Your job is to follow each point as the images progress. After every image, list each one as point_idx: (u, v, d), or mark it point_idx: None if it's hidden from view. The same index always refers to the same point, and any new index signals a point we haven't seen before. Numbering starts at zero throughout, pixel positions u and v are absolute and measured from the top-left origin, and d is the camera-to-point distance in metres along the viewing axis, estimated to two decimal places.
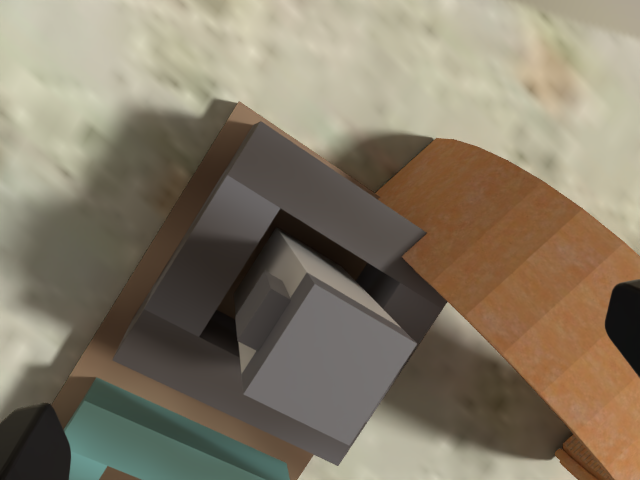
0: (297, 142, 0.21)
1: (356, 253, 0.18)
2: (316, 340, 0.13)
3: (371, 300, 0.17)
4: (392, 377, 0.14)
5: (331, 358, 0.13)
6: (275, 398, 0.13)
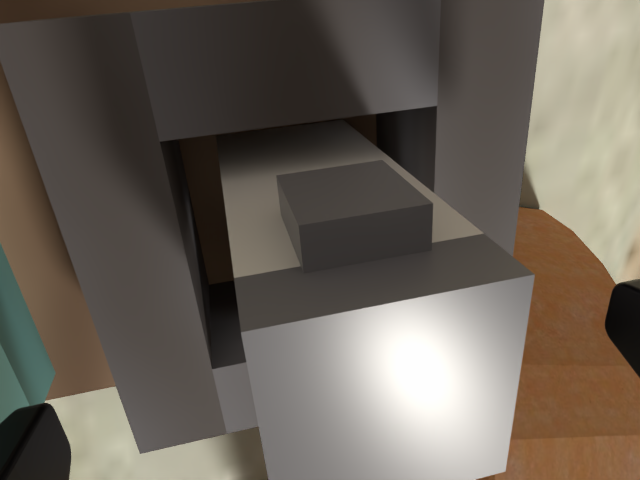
0: None
1: None
2: (431, 356, 0.06)
3: None
4: None
5: (412, 399, 0.06)
6: (276, 384, 0.06)
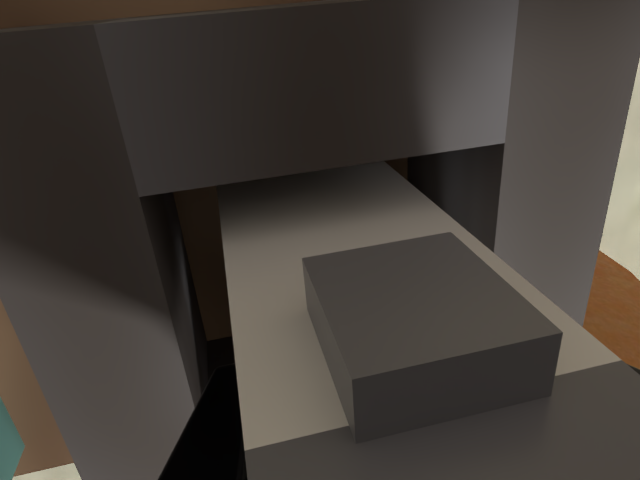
0: None
1: None
2: None
3: None
4: None
5: None
6: None
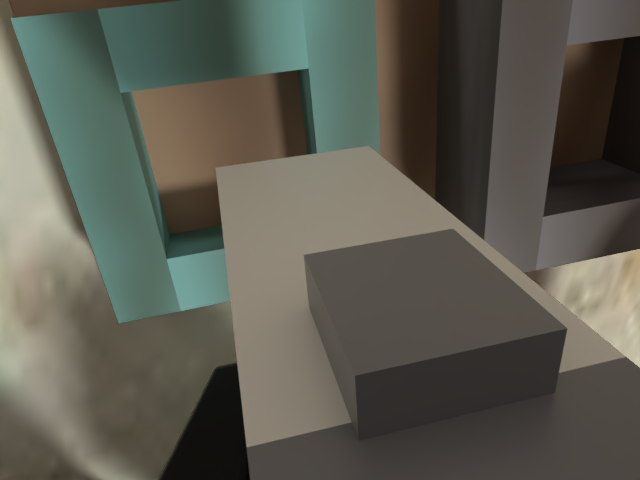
0: None
1: None
2: None
3: None
4: None
5: None
6: None
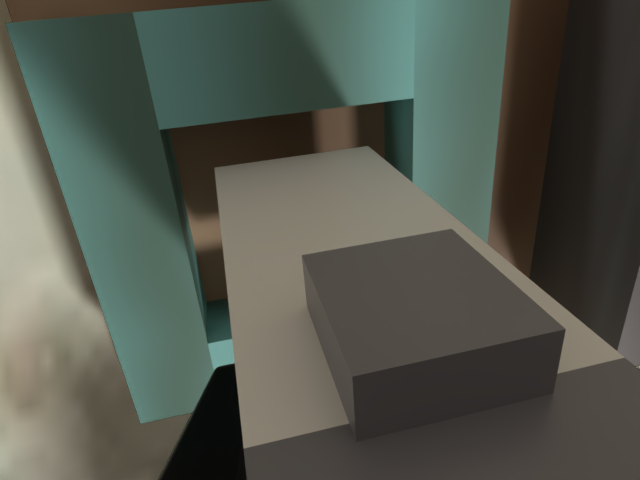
0: None
1: None
2: None
3: None
4: None
5: None
6: None
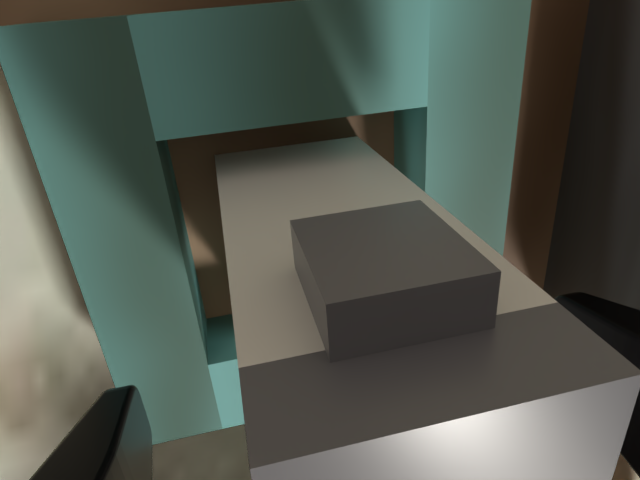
0: None
1: None
2: (501, 477, 0.05)
3: None
4: None
5: None
6: None
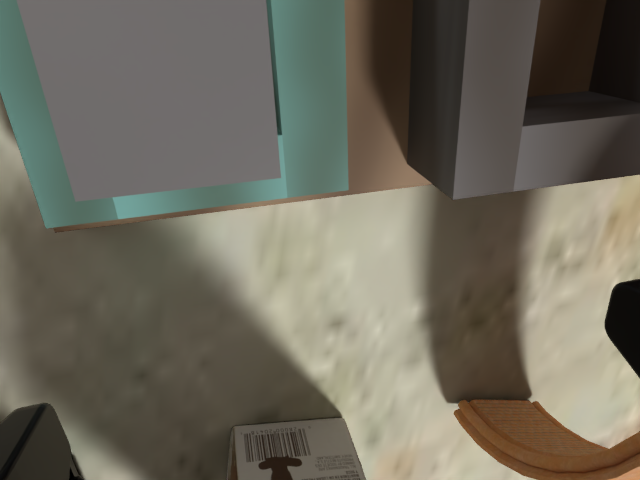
0: None
1: None
2: (183, 25, 0.08)
3: None
4: (214, 181, 0.09)
5: (175, 71, 0.08)
6: (46, 27, 0.07)
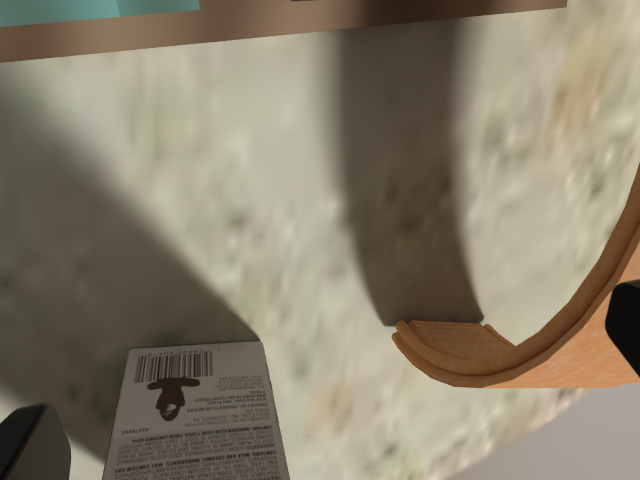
0: None
1: None
2: None
3: None
4: None
5: None
6: None
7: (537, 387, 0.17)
